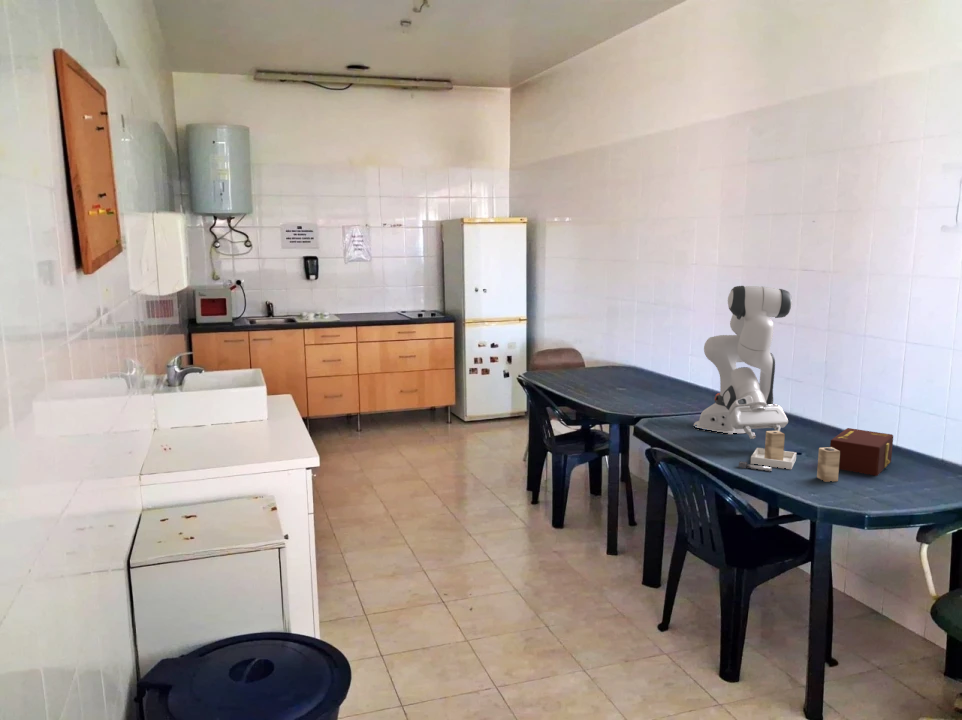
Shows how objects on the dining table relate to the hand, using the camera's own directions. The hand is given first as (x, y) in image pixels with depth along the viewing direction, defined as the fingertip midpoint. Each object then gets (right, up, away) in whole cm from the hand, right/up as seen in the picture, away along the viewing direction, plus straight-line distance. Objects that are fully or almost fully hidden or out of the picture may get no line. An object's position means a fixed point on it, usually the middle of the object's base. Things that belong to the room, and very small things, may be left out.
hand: (765, 437), depth 261 cm
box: (+30, -9, -9) cm, 33 cm away
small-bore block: (+1, -7, -5) cm, 9 cm away
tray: (+1, -8, -5) cm, 9 cm away
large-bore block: (+11, -11, -24) cm, 29 cm away
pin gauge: (-9, -9, -13) cm, 18 cm away
